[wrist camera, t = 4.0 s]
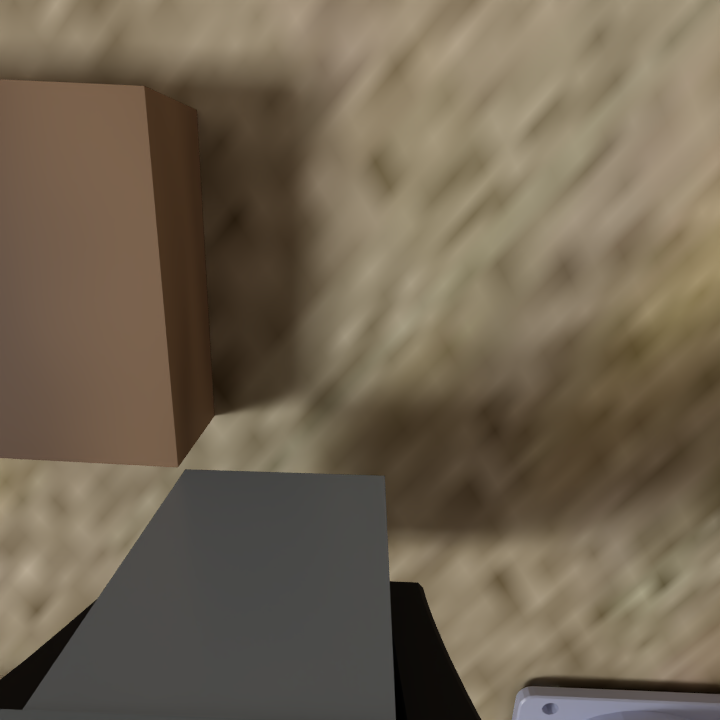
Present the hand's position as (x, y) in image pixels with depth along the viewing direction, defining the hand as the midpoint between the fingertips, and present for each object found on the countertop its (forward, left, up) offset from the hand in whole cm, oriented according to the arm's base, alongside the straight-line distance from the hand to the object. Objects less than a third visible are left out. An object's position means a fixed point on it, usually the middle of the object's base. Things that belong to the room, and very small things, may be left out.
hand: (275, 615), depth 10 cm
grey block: (0, 0, -2) cm, 2 cm away
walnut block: (+6, -6, -5) cm, 10 cm away
